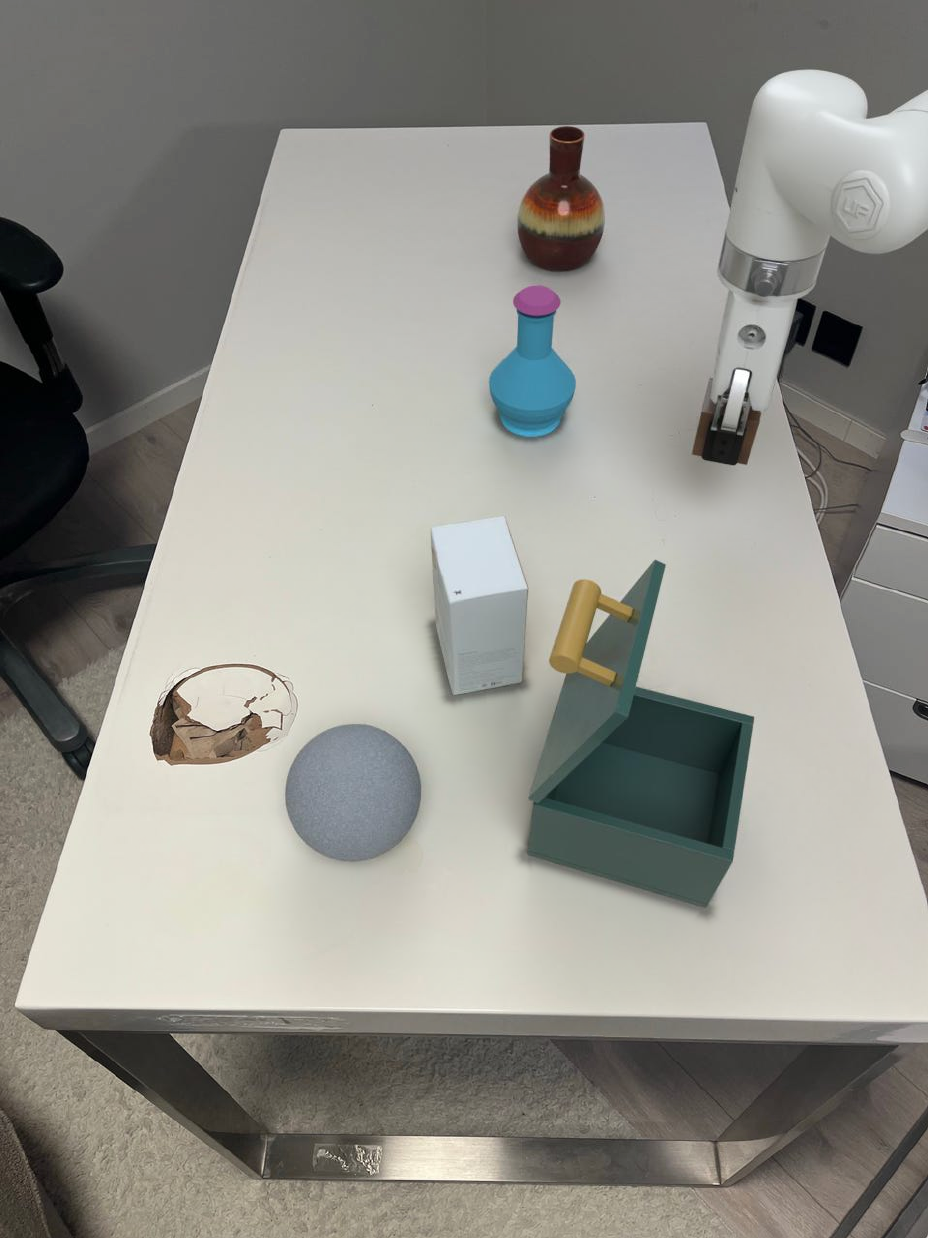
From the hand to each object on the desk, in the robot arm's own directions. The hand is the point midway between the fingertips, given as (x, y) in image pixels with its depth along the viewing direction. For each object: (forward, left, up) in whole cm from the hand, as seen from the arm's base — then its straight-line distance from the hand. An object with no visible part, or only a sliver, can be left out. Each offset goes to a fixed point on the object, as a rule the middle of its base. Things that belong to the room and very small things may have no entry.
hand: (723, 438), depth 83 cm
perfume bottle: (+20, -8, -9) cm, 24 cm away
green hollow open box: (0, +35, -9) cm, 36 cm away
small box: (+16, +24, -9) cm, 30 cm away
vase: (+25, -40, -9) cm, 48 cm away
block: (0, 0, 0) cm, 0 cm away
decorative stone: (+20, +42, -9) cm, 47 cm away
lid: (+5, +35, +7) cm, 36 cm away
